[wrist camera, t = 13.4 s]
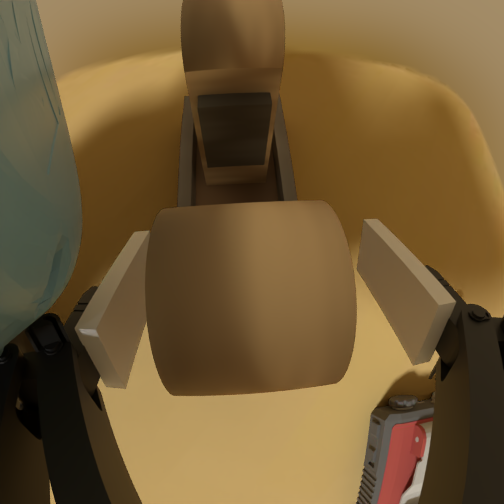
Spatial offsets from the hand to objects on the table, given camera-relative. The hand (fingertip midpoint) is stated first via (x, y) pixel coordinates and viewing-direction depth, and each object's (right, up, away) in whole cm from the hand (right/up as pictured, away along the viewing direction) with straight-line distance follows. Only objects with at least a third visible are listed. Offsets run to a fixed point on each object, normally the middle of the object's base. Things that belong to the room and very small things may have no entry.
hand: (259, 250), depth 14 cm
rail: (-1, +1, +7) cm, 7 cm away
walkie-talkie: (+12, -14, +4) cm, 19 cm away
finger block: (-1, -4, +4) cm, 6 cm away
